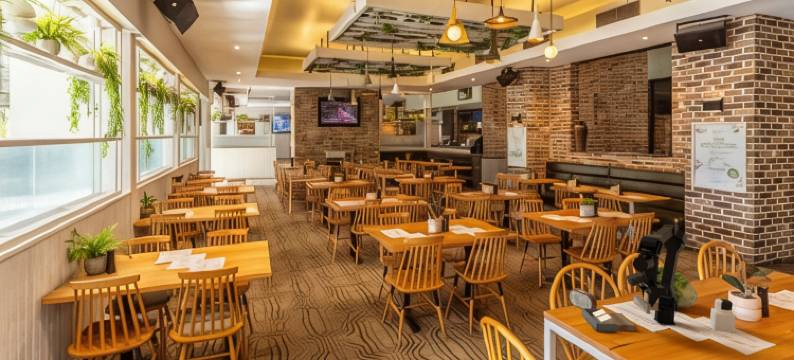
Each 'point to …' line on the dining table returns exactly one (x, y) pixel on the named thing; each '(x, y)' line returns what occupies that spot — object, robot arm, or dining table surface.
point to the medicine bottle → (723, 316)
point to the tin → (582, 298)
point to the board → (622, 322)
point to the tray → (597, 326)
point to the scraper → (645, 303)
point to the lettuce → (682, 289)
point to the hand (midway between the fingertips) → (648, 305)
